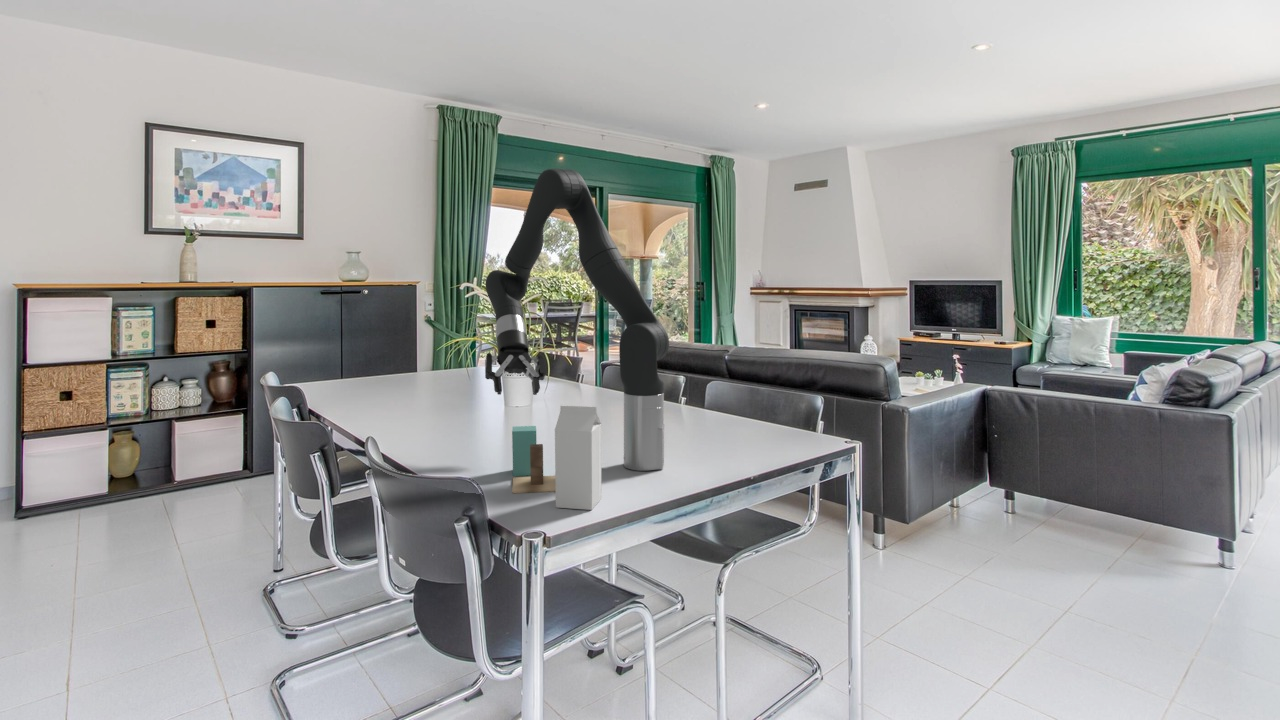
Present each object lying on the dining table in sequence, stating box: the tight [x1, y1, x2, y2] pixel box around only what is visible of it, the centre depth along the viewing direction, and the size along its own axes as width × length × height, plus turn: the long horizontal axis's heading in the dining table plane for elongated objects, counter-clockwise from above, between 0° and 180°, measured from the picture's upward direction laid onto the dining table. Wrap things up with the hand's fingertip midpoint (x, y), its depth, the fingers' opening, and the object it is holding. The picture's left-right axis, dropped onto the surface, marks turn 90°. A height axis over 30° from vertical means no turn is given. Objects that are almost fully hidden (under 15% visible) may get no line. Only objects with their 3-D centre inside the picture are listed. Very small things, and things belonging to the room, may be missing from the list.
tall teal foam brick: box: [511, 425, 537, 477], centre depth 149 cm, size 5×5×10 cm
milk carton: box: [554, 404, 603, 511], centre depth 127 cm, size 7×7×19 cm
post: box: [512, 443, 556, 494], centre depth 140 cm, size 10×10×8 cm
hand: (518, 393), depth 158 cm, fingers open, 8 cm apart
